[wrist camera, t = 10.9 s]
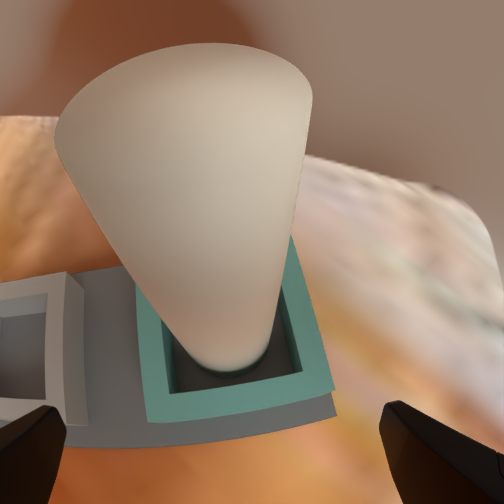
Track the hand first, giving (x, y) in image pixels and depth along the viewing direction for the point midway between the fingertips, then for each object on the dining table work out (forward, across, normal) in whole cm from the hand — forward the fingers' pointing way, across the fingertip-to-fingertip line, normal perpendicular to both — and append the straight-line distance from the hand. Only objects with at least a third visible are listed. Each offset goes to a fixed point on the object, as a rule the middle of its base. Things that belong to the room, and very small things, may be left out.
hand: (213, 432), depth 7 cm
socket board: (+10, +6, +4) cm, 12 cm away
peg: (+9, 0, +2) cm, 10 cm away
